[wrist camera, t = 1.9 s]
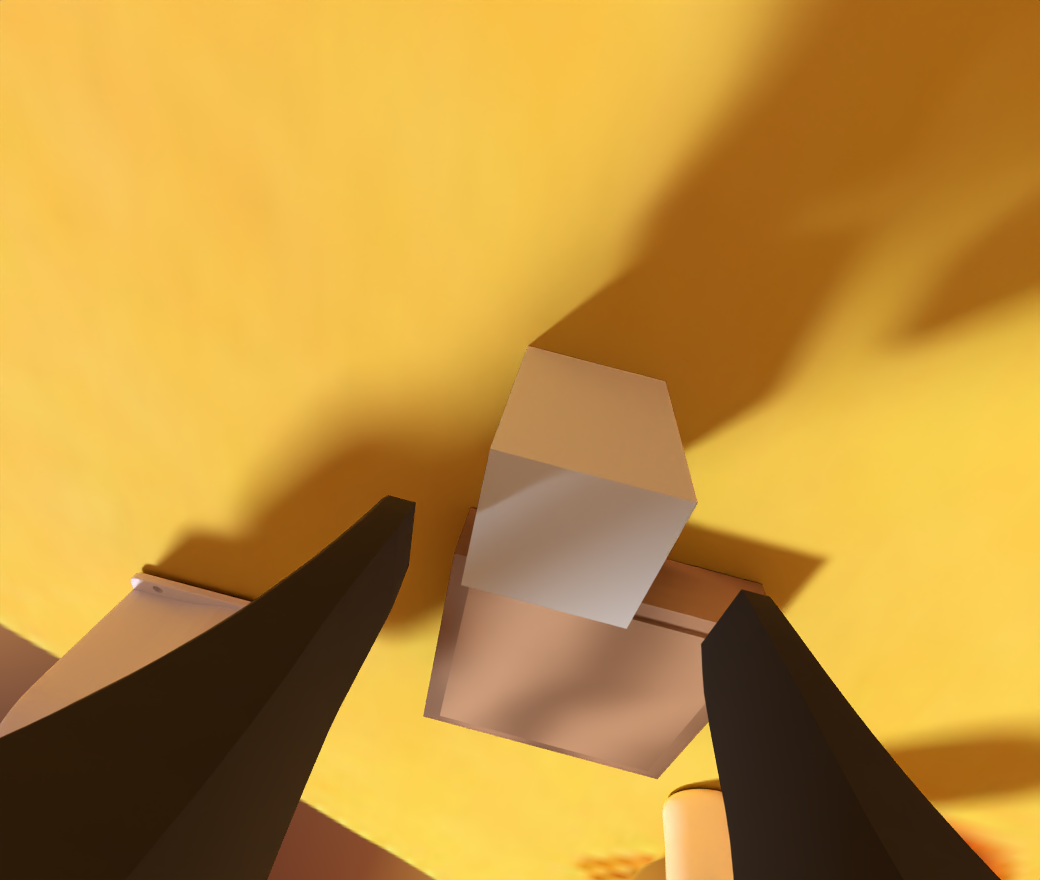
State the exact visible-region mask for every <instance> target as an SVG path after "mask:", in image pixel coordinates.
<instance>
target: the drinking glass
mask: <svg viewBox="0 0 1040 880" xmlns="http://www.w3.org/2000/svg"><path fill="white" fill-rule="evenodd" d="M662 816H663V828H664V840H665V860H666V880H734V878H733V868H732V858H731V847H730V838H729V832H728V825H727V818H726V812H725V806H724V801H723V796H722V791H717V790H711V789H689V790H683V791H680V792H677V793H675V794H673V795H671V796H670V797H669V798H668V799H667V800H666V801H665V803H664V806H663V812H662Z"/></svg>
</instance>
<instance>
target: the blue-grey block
mask: <svg viewBox="0 0 1040 880" xmlns="http://www.w3.org/2000/svg"><path fill="white" fill-rule="evenodd" d="M697 503H698V502H697V499H696V495H695V491H694V487H693V483H692V480H691V476H690V472H689V468H688V464H687V461H686V457H685V453H684V449H683V445H682V442H681V438H680V434H679V430H678V426H677V423H676V419H675V415H674V411H673V407H672V404H671V400H670V396H669V392H668V388H667V385H666V381H662V380H658V379H655V378H651V377H647V376H643V375H639V374H635V373H631V372H628V371H624V370H620V369H616V368H612V367H608V366H604V365H601V364H597V363H593V362H589V361H585V360H581V359H577V358H574V357H570V356H566V355H562V354H558V353H554V352H550V351H547V350H543V349H539V348H535V347H531V346H528V347H527V349H526V352H525V355H524V357H523V360H522V363H521V366H520V368H519V371H518V374H517V377H516V379H515V382H514V385H513V387H512V390H511V393H510V396H509V398H508V401H507V404H506V407H505V409H504V412H503V415H502V417H501V420H500V423H499V426H498V428H497V431H496V434H495V437H494V439H493V442H492V445H491V447H490V451H489V456H488V461H487V465H486V470H485V475H484V479H483V484H482V489H481V493H480V498H479V503H478V508H477V512H476V517H475V522H474V526H473V531H472V536H471V540H470V545H469V550H468V554H467V559H466V564H465V569H464V573H463V578H462V583H461V585H463V586H467V587H470V588H474V589H478V590H482V591H485V592H489V593H493V594H497V595H501V596H504V597H508V598H512V599H516V600H519V601H523V602H527V603H531V604H535V605H538V606H542V607H546V608H550V609H553V610H557V611H561V612H565V613H569V614H572V615H576V616H580V617H584V618H588V619H591V620H595V621H599V622H603V623H606V624H610V625H614V626H618V627H622V628H625V629H627V627H628V625H629V624H630V622H631V620H632V618H633V617H634V615H635V613H636V611H637V610H638V608H639V606H640V604H641V602H642V601H643V599H644V597H645V595H646V594H647V592H648V590H649V588H650V586H651V585H652V583H653V581H654V579H655V578H656V576H657V574H658V572H659V570H660V569H661V567H662V565H663V563H664V562H665V560H666V558H667V556H668V555H669V553H670V551H671V549H672V547H673V546H674V544H675V542H676V540H677V539H678V537H679V535H680V533H681V531H682V530H683V528H684V526H685V524H686V523H687V521H688V519H689V517H690V516H691V514H692V512H693V510H694V508H695V507H696V505H697Z"/></svg>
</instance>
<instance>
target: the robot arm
mask: <svg viewBox="0 0 1040 880" xmlns="http://www.w3.org/2000/svg"><path fill="white" fill-rule="evenodd" d="M415 504H416V503H415V502H411V501H407V500H404V499H400V498H396V497H392V496H389V495H388V496H386V497H384V498H383V499H382V500H381V501H379V502H378V503H377V504H376V505H375V506H374V507H373V508H372V509H371V510H370V511H369V512H367V513H366V514H365V515H364V516H363V517H362V518H361V519H360V520H358V521H357V522H356V523H355V524H354V525H353V526H351V527H350V528H349V529H348V530H347V531H346V532H344V533H343V534H342V535H341V536H340V537H338V538H337V539H336V540H335V541H333V542H332V543H331V544H330V545H328V546H327V547H326V548H325V549H323V550H322V551H321V552H320V553H318V554H317V555H316V556H315V557H313V558H312V559H311V560H310V561H308V562H307V563H306V564H304V565H303V566H302V567H300V568H299V569H297V570H296V571H295V572H293V573H292V574H291V575H289V576H288V577H286V578H285V579H284V580H282V581H281V582H279V583H278V584H277V585H275V586H274V587H273V588H271V589H270V590H268V591H267V592H266V593H264V594H263V595H261V596H260V597H258V598H257V599H255V600H254V601H252V602H250V601H247V600H243V599H239V598H235V597H232V596H228V595H224V594H220V593H217V592H213V591H209V590H205V589H202V588H198V587H194V586H190V585H187V584H183V583H179V582H175V581H172V580H168V579H164V578H160V577H157V576H153V575H149V574H145V573H136V574H135V575H134V576H133V577H132V578H131V584H132V586H133V589H134V590H132V591H131V592H130V593H129V594H128V595H127V596H126V597H125V598H124V599H123V600H122V601H121V602H120V603H119V604H118V605H117V606H115V607H114V608H113V609H112V610H111V611H110V612H109V613H108V614H107V615H106V616H105V617H104V618H103V619H102V620H101V621H100V622H99V623H98V624H97V625H96V626H94V627H93V628H92V629H91V630H90V631H89V632H88V633H87V634H86V635H85V636H84V637H83V638H82V639H81V640H80V641H79V642H78V643H77V644H76V645H75V646H73V647H72V648H71V649H70V650H69V651H68V652H67V653H66V654H65V655H64V656H63V657H62V658H61V659H60V660H59V661H58V662H57V663H56V664H55V665H54V666H52V667H51V668H50V669H49V670H48V671H47V672H46V673H45V674H44V675H43V676H42V677H41V678H40V679H39V680H38V681H37V682H36V683H35V684H34V685H33V686H31V687H30V688H29V689H28V691H27V692H26V693H25V694H24V695H23V696H22V697H21V698H20V699H19V700H18V701H17V703H16V704H15V705H14V706H13V708H12V709H11V710H10V711H9V713H8V714H7V715H6V717H5V718H4V720H3V721H2V722H1V724H0V880H267V879H268V876H269V874H270V871H271V869H272V866H273V864H274V861H275V859H276V856H277V854H278V851H279V849H280V846H281V844H282V841H283V839H284V836H285V834H286V832H287V829H288V827H289V824H290V822H291V819H292V817H293V814H294V812H295V810H296V807H297V805H298V802H299V800H300V798H301V795H302V793H303V790H304V788H305V785H306V783H307V781H308V778H309V776H310V774H311V771H312V769H313V766H314V764H315V762H316V759H317V757H318V755H319V752H320V750H321V748H322V745H323V743H324V741H325V738H326V736H327V733H328V731H329V729H330V727H331V725H332V723H333V721H334V719H335V717H336V714H337V712H338V710H339V708H340V706H341V704H342V702H343V701H344V699H345V697H346V695H347V693H348V691H349V689H350V687H351V685H352V683H353V682H354V680H355V678H356V676H357V674H358V672H359V670H360V668H361V666H362V665H363V663H364V661H365V659H366V657H367V655H368V653H369V651H370V649H371V647H372V646H373V644H374V642H375V640H376V638H377V636H378V634H379V632H380V630H381V628H382V626H383V624H384V623H385V621H386V619H387V617H388V615H389V613H390V611H391V609H392V607H393V604H394V602H395V599H396V597H397V594H398V592H399V589H400V587H401V584H402V581H403V579H404V576H405V574H406V571H407V569H408V566H409V557H410V549H411V540H412V531H413V522H414V513H415ZM701 655H702V676H703V689H704V697H705V703H706V709H707V715H708V720H709V726H710V731H711V737H712V742H713V748H714V753H715V758H716V764H717V769H718V774H719V780H720V785H721V790H722V796H723V801H724V806H725V812H726V818H727V825H728V832H729V838H730V847H731V858H732V868H733V878H734V880H1001V879H1000V878H999V877H998V876H997V875H996V874H995V873H994V872H993V871H992V870H991V869H990V868H989V867H988V866H987V865H986V864H985V863H984V861H983V860H982V859H981V858H980V857H979V856H978V855H977V854H976V853H975V852H974V851H973V850H972V849H971V848H970V847H969V845H968V844H967V843H966V842H965V841H964V840H963V839H962V838H961V837H960V835H959V834H958V833H957V832H956V831H955V830H954V829H953V828H952V827H951V825H950V824H949V823H948V822H947V821H946V820H945V819H944V818H943V816H942V815H941V814H940V813H939V812H938V811H937V810H936V809H935V808H934V806H933V805H932V804H931V803H930V802H929V801H928V800H927V799H926V797H925V796H924V795H923V794H922V793H921V792H920V790H919V789H918V788H917V787H916V786H915V785H914V783H913V782H912V781H911V780H910V779H909V778H908V776H907V775H906V774H905V773H904V772H903V770H902V769H901V768H900V767H899V765H898V764H897V763H896V762H895V761H894V759H893V758H892V757H891V756H890V754H889V753H888V752H887V751H886V750H885V748H884V747H883V746H882V745H881V743H880V742H879V741H878V740H877V738H876V737H875V736H874V735H873V734H872V732H871V731H870V730H869V728H868V727H867V726H866V725H865V723H864V722H863V721H862V719H861V718H860V717H859V716H858V714H857V713H856V712H855V710H854V709H853V708H852V707H851V705H850V704H849V703H848V701H847V700H846V699H845V697H844V696H843V695H842V693H841V692H840V691H839V689H838V688H837V687H836V685H835V684H834V683H833V681H832V680H831V679H830V677H829V676H828V675H827V673H826V672H825V671H824V669H823V668H822V666H821V665H820V664H819V662H818V661H817V660H816V658H815V657H814V656H813V654H812V653H811V651H810V650H809V649H808V647H807V646H806V645H805V643H804V642H803V640H802V639H801V638H800V636H799V635H798V634H797V632H796V631H795V630H794V628H793V627H792V625H791V624H790V623H789V621H788V620H787V619H786V617H785V616H784V615H783V613H782V612H781V611H780V609H779V608H778V607H777V606H776V604H775V603H774V602H773V600H772V599H771V598H770V597H769V596H765V595H762V594H758V593H754V592H750V591H747V590H743V589H741V591H740V592H739V593H738V595H737V596H736V597H735V599H734V600H733V601H732V603H731V604H730V605H729V607H728V608H727V609H726V611H725V612H724V614H723V615H722V616H721V618H720V619H719V620H718V622H717V623H716V624H715V626H714V627H713V628H712V630H711V631H710V632H709V634H708V635H707V637H706V638H705V639H704V641H703V642H702V643H701Z"/></svg>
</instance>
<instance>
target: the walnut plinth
mask: <svg viewBox="0 0 1040 880" xmlns="http://www.w3.org/2000/svg"><path fill="white" fill-rule="evenodd" d="M476 512H477V509H474V508H470V511H469V514H468V517H467V520H466V522H465V525H464V528H463V531H462V533H461V536H460V539H459V542H458V544H457V547H456V550H455V553H454V558H453V563H452V568H451V573H450V579H449V584H448V589H447V594H446V600H445V605H444V610H443V615H442V621H441V626H440V631H439V637H438V642H437V647H436V652H435V658H434V663H433V668H432V673H431V679H430V684H429V689H428V694H427V700H426V705H425V710H424V715H423V716H424V717H428V718H432V719H435V720H439V721H443V722H446V723H450V724H454V725H458V726H461V727H465V728H469V729H473V730H476V731H480V732H484V733H487V734H491V735H495V736H499V737H502V738H506V739H510V740H514V741H517V742H521V743H525V744H528V745H532V746H536V747H540V748H543V749H547V750H551V751H555V752H558V753H562V754H566V755H569V756H573V757H577V758H581V759H584V760H588V761H592V762H596V763H599V764H603V765H607V766H610V767H614V768H618V769H622V770H625V771H629V772H633V773H637V774H640V775H644V776H648V777H651V778H655V779H658V778H659V777H660V776H661V774H662V773H663V772H664V771H665V770H666V769H667V768H668V767H669V765H670V764H671V763H672V762H673V761H674V760H675V759H676V758H677V756H678V755H679V754H680V753H681V752H682V751H683V750H684V749H685V747H686V746H687V745H688V744H689V743H690V742H691V741H692V740H693V739H694V737H695V736H696V735H697V734H698V733H699V732H700V731H701V730H702V728H703V727H704V726H705V725H706V724H707V723H708V722H709V720H708V715H707V709H706V703H705V697H704V689H703V676H702V655H701V643H702V642H703V641H704V639H705V638H706V637H707V635H708V634H709V632H710V631H711V630H712V628H713V627H714V626H715V624H716V623H717V622H718V620H719V619H720V618H721V616H722V615H723V614H724V612H725V611H726V609H727V608H728V607H729V605H730V604H731V603H732V601H733V600H734V599H735V597H736V596H737V595H738V593H739V592H740V591H741V589H743V590H747V591H750V592H754V593H758V594H762V595H765V592H764V589H763V587H762V584H759V583H755V582H751V581H748V580H744V579H740V578H736V577H732V576H729V575H725V574H721V573H717V572H713V571H710V570H706V569H702V568H698V567H694V566H691V565H687V564H683V563H679V562H675V561H672V560H668V559H666V560H665V562H664V563H663V565H662V567H661V569H660V570H659V572H658V574H657V576H656V578H655V579H654V581H653V583H652V585H651V586H650V588H649V590H648V592H647V594H646V595H645V597H644V599H643V601H642V602H641V604H640V606H639V608H638V610H637V611H636V613H635V615H634V617H633V618H632V620H631V622H630V624H629V625H628V627H627V629H625V628H622V627H618V626H614V625H610V624H606V623H603V622H599V621H595V620H591V619H588V618H584V617H580V616H576V615H572V614H569V613H565V612H561V611H557V610H553V609H550V608H546V607H542V606H538V605H535V604H531V603H527V602H523V601H519V600H516V599H512V598H508V597H504V596H501V595H497V594H493V593H489V592H485V591H482V590H478V589H474V588H470V587H467V586H463V585H461V583H462V578H463V573H464V569H465V564H466V559H467V554H468V550H469V545H470V540H471V536H472V531H473V526H474V522H475V517H476ZM765 596H766V595H765Z"/></svg>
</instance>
